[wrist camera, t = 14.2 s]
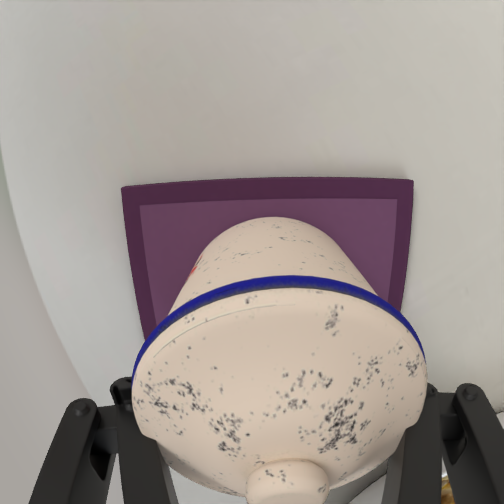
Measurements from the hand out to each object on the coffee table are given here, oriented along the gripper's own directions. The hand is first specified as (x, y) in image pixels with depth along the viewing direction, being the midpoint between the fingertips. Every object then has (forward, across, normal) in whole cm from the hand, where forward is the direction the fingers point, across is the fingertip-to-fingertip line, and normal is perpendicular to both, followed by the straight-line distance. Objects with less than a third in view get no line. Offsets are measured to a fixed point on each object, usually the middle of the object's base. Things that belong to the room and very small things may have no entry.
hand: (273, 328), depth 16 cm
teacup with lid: (+1, 0, 0) cm, 1 cm away
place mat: (+1, 0, 0) cm, 1 cm away
